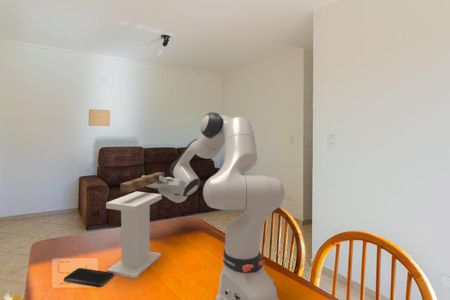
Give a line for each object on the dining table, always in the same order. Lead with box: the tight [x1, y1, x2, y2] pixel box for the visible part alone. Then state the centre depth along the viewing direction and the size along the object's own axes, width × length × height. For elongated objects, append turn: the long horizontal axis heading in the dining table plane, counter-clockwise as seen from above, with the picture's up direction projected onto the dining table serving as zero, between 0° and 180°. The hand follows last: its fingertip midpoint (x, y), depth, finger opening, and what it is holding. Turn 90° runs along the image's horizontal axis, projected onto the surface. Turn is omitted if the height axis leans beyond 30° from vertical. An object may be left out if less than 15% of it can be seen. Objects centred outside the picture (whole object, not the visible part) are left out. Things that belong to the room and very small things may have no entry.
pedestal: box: [105, 191, 163, 280], centre depth 104 cm, size 18×12×26 cm, turn 163°
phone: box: [63, 267, 115, 288], centre depth 95 cm, size 8×1×15 cm
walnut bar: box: [119, 171, 165, 194], centre depth 108 cm, size 26×3×3 cm, turn 163°
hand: (154, 176), depth 115 cm, fingers closed on walnut bar, 3 cm apart
